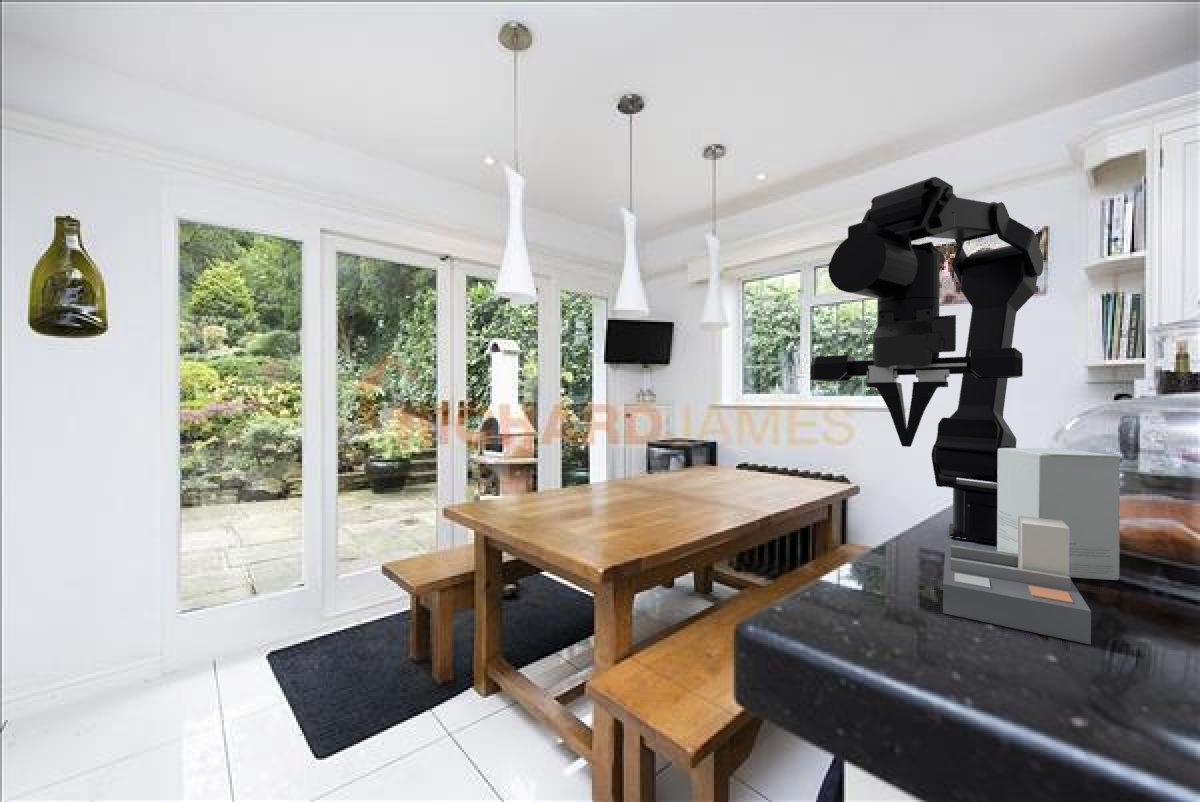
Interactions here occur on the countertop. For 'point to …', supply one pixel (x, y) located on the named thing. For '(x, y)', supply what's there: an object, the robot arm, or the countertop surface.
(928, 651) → the countertop surface
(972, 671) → the countertop surface
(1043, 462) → the supplement box
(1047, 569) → the switch tab
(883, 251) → the robot arm
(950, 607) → the switch board
